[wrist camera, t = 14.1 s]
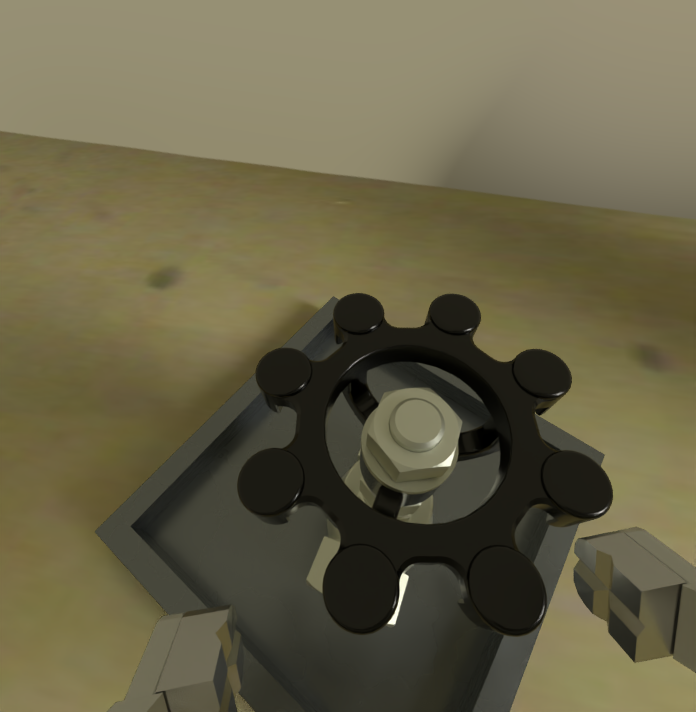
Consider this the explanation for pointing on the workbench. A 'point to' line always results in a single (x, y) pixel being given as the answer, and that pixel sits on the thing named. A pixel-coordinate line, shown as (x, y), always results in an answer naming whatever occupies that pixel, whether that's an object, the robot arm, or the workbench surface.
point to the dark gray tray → (300, 546)
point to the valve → (420, 467)
